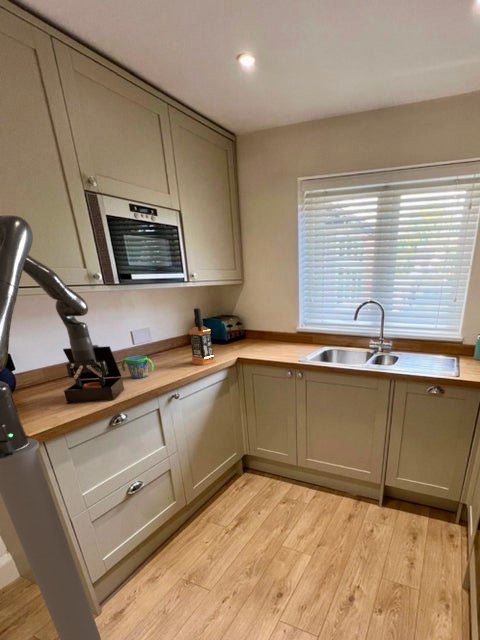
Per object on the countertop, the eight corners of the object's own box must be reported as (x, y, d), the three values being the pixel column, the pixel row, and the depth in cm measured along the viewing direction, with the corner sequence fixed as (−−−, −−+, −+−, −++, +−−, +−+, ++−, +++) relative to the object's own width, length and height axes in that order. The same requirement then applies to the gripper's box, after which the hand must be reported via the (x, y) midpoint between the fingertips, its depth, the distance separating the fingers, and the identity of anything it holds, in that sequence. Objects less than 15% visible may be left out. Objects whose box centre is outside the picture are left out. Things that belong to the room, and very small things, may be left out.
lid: (109, 347, 141) (111, 340, 145) (62, 349, 137) (66, 342, 141) (121, 376, 153) (123, 369, 156) (78, 379, 149) (81, 372, 152)
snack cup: (159, 374, 178) (155, 355, 175) (148, 379, 168) (145, 360, 165) (131, 373, 179) (127, 355, 176) (119, 379, 169) (115, 360, 166)
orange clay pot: (100, 398, 141) (96, 386, 139) (83, 399, 139) (79, 387, 137) (105, 393, 146) (102, 381, 145) (89, 394, 145) (85, 382, 143)
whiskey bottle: (215, 361, 203) (209, 308, 192) (204, 365, 195) (197, 309, 184) (203, 359, 208) (196, 307, 197) (191, 363, 200) (183, 309, 188)
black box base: (113, 400, 141) (110, 387, 139) (67, 403, 137) (63, 390, 135) (124, 388, 155) (121, 377, 153) (82, 392, 151) (79, 379, 149)
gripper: (58, 351, 131) (69, 389, 136) (98, 349, 134) (107, 387, 139) (66, 347, 137) (76, 384, 143) (104, 345, 141) (112, 382, 146)
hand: (91, 385), depth 141 cm, fingers open, 8 cm apart
